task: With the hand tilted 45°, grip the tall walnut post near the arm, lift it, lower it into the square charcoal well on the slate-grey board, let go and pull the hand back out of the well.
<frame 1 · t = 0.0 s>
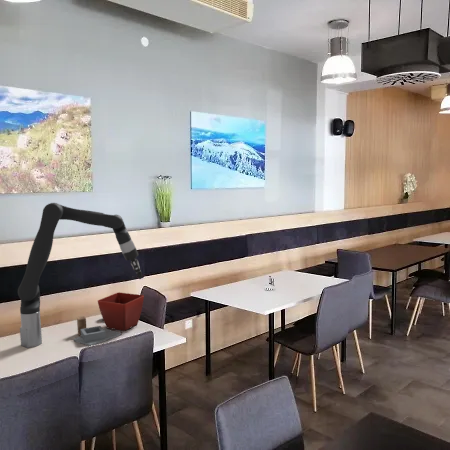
hand: (141, 276, 243), 31 cm above the table, tool tilted 20°, fingers open, 8 cm apart
plant pot: (122, 326, 258), on the table
well board: (97, 337, 241), on the table
walnut post: (82, 334, 247), on the table
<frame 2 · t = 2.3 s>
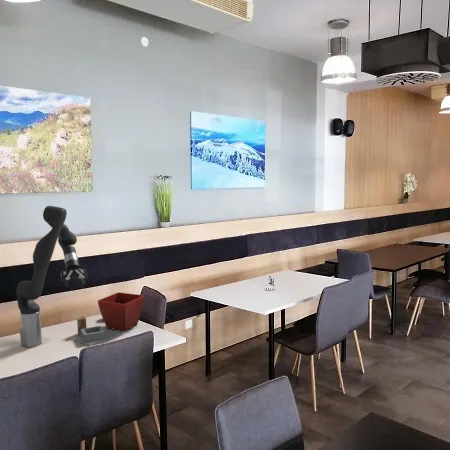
hand: (76, 285, 254), 25 cm above the table, tool tilted 45°, fingers open, 8 cm apart
nothing on the table moved.
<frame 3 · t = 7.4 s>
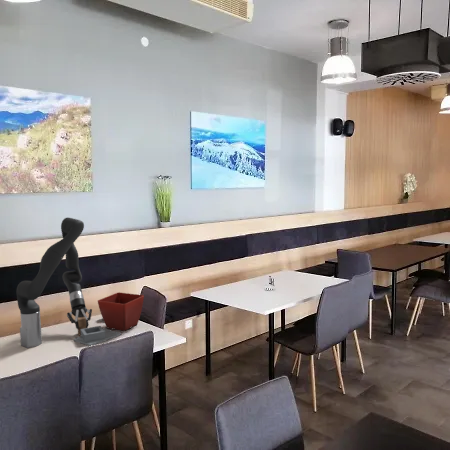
hand: (82, 327, 245), 4 cm above the table, tool tilted 45°, fingers closed on walnut post, 4 cm apart
walnut post: (82, 334, 247), on the table, touching gripper
everything else where it was.
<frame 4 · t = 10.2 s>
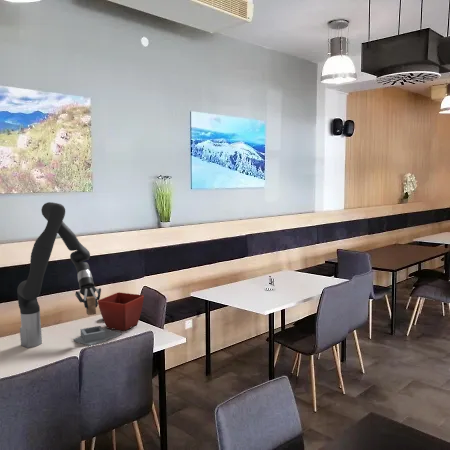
hand: (91, 307, 235), 18 cm above the table, tool tilted 45°, fingers closed on walnut post, 4 cm apart
walnut post: (91, 313, 237), point 14 cm above the table, touching gripper
everything else where it was.
when the fingers open (7 cm above the table, at t = 13.3 s): walnut post drops 2 cm, resting on well board.
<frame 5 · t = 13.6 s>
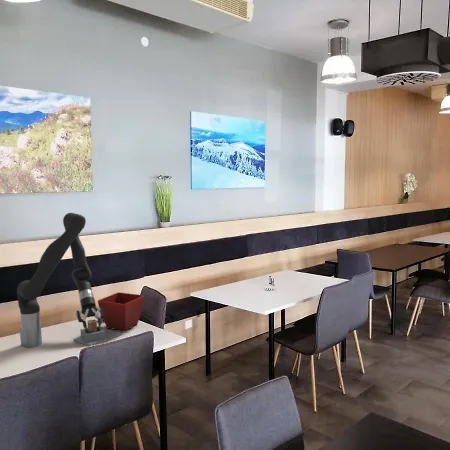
hand: (93, 326, 236), 7 cm above the table, tool tilted 45°, fingers open, 6 cm apart
walnut post: (92, 337, 238), point 1 cm above the table, touching well board
everything else where it was.
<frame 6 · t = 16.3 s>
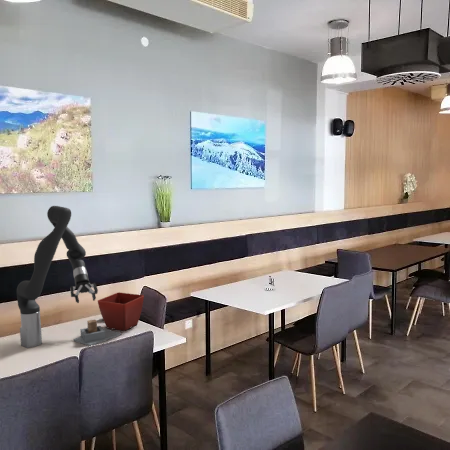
hand: (86, 301, 247), 18 cm above the table, tool tilted 45°, fingers open, 8 cm apart
nothing on the table moved.
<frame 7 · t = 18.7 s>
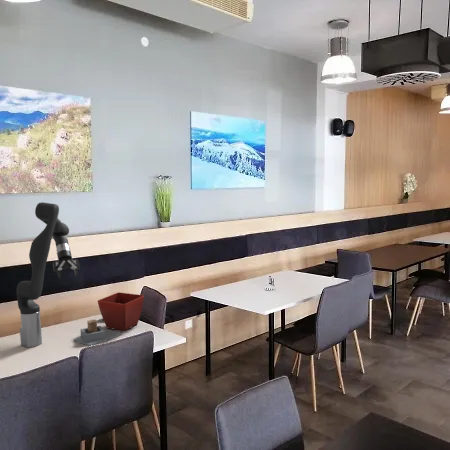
hand: (68, 276, 252), 31 cm above the table, tool tilted 45°, fingers open, 8 cm apart
nothing on the table moved.
at the end: walnut post 0.1 cm from the target spot on the well board, point 1.0 cm above the well board's base; walnut post tilted 0°; the gripper is holding nothing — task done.
